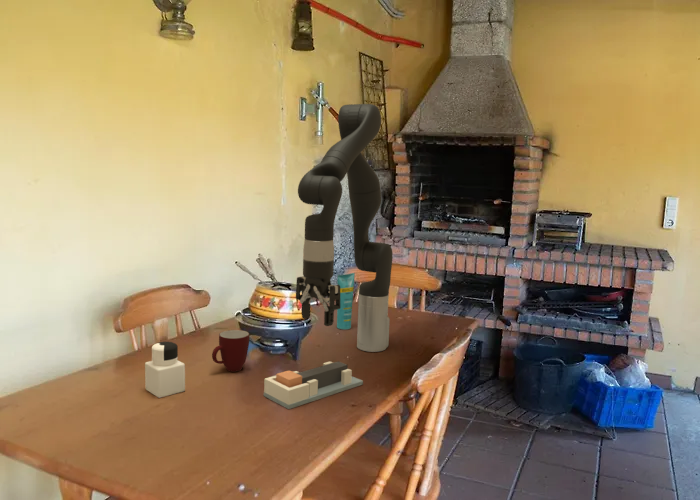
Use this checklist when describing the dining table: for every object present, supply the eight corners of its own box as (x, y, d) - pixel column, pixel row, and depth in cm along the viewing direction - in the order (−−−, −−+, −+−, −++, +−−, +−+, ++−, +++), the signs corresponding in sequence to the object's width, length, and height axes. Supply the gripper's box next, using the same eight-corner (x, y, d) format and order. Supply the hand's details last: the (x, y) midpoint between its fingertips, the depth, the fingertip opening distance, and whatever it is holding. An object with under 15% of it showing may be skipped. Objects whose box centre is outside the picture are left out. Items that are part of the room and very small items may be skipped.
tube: (341, 331, 202) (342, 276, 199) (331, 328, 205) (333, 273, 202) (356, 327, 207) (358, 273, 204) (346, 324, 211) (348, 271, 208)
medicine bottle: (171, 382, 152) (171, 337, 150) (185, 391, 147) (185, 344, 145) (145, 389, 147) (144, 343, 145) (158, 398, 142) (157, 350, 140)
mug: (224, 379, 155) (224, 342, 154) (205, 371, 161) (205, 335, 159) (254, 369, 163) (255, 334, 162) (236, 362, 169) (236, 328, 167)
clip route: (337, 373, 162) (337, 357, 162) (362, 384, 155) (363, 368, 155) (263, 395, 146) (263, 378, 145) (288, 409, 138) (289, 390, 138)
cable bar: (336, 374, 159) (336, 356, 158) (349, 380, 155) (349, 361, 154) (275, 393, 145) (276, 373, 144) (288, 399, 141) (289, 379, 141)
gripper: (349, 260, 143) (347, 325, 145) (311, 252, 153) (310, 313, 155) (326, 263, 138) (324, 331, 140) (288, 254, 148) (287, 317, 150)
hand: (316, 321), depth 148 cm, fingers open, 8 cm apart
